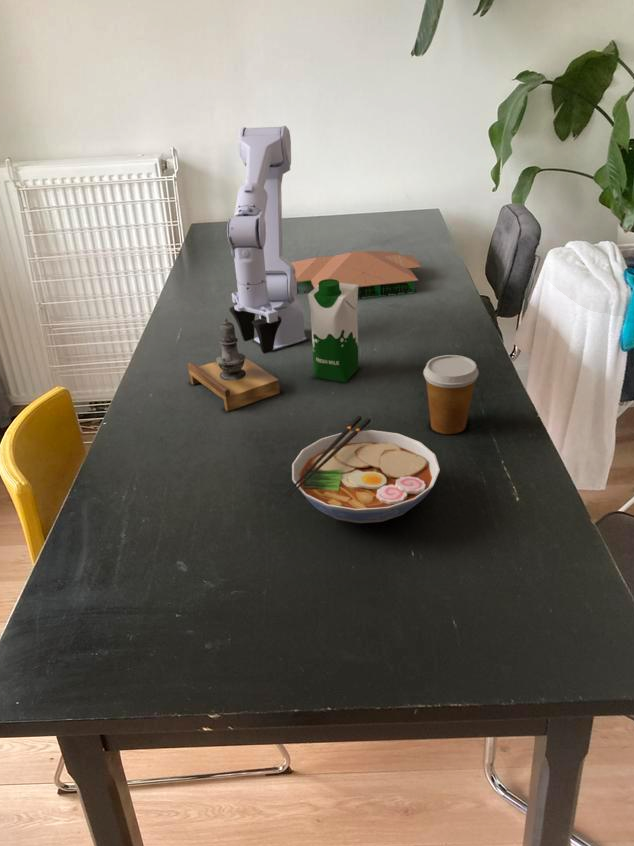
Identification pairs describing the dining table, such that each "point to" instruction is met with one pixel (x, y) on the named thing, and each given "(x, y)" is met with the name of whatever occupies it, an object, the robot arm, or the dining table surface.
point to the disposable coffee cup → (450, 391)
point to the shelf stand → (236, 383)
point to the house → (359, 269)
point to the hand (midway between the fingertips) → (258, 345)
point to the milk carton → (334, 329)
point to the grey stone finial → (230, 354)
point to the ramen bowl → (365, 474)
